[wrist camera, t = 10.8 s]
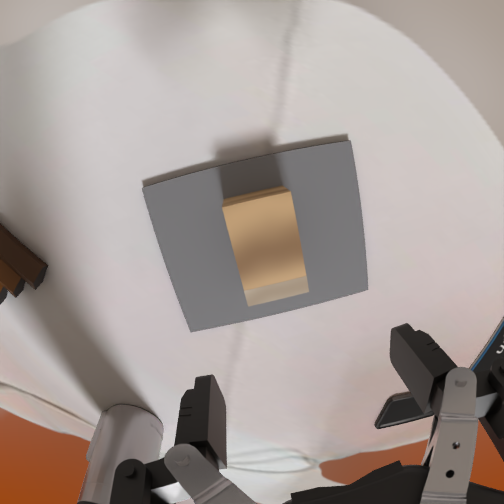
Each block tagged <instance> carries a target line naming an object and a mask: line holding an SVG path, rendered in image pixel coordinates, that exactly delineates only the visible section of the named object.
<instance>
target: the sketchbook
mask: <svg viewBox="0 0 504 504" xmlns="http://www.w3.org/2000/svg"><path fill="white" fill-rule="evenodd" d="M502 357H504V317H503V319H502V321H501V322H500V324H499V326H498V327H497V329H496V330H495V332H494V334H493V335H492V337H491V338H490V340H489V341H488V343H487V344H486V346H485V347H484V349H483V350H482V351H481V353H480V354H479V356H478V357H477V358H476V360H475V361H474V363H473V364H472V365H471V367H470V368H469V369H470V370H472V371H473V372H474V373H476V372H481V371H485V370H489V369H491V366H492V364H493V362H494V361H495V360H496V359H498V358H502Z"/></svg>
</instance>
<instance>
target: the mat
mask: <svg viewBox="0 0 504 504" xmlns="http://www.w3.org/2000/svg"><path fill="white" fill-rule="evenodd" d="M282 185H283V186H284V187H285V188H287V189H288V190H289V191H291V195H292V200H293V205H294V210H295V215H296V220H297V226H298V231H299V236H300V242H301V247H302V253H303V259H304V265H305V270H306V276H307V282H308V288H309V292H307V293H303V294H299V295H295V296H291V297H287V298H283V299H278V300H274V301H270V302H266V303H262V304H257V305H253V306H249V307H248V304H247V300H246V297H245V293H244V289H243V285H242V281H241V278H240V274H239V270H238V267H237V263H236V259H235V255H234V251H233V248H232V244H231V240H230V236H229V233H228V229H227V225H226V221H225V217H224V213H223V209H222V205H223V199H226V198H231V197H235V196H239V195H243V194H247V193H251V192H256V191H260V190H264V189H269V188H273V187H278V186H282ZM142 191H143V194H144V198H145V201H146V205H147V208H148V211H149V215H150V218H151V221H152V225H153V228H154V231H155V234H156V237H157V240H158V244H159V247H160V250H161V253H162V256H163V259H164V262H165V264H166V267H167V270H168V273H169V276H170V279H171V282H172V284H173V287H174V290H175V293H176V295H177V298H178V301H179V303H180V306H181V309H182V311H183V314H184V317H185V319H186V322H187V324H188V327H189V329H190V332H194V331H200V330H205V329H210V328H215V327H220V326H225V325H230V324H234V323H239V322H244V321H248V320H253V319H257V318H262V317H266V316H270V315H275V314H279V313H283V312H287V311H291V310H295V309H299V308H303V307H307V306H311V305H315V304H319V303H323V302H327V301H330V300H334V299H338V298H341V297H345V296H348V295H352V294H356V293H359V292H362V291H366V290H368V276H367V261H366V249H365V238H364V228H363V219H362V210H361V202H360V195H359V187H358V181H357V174H356V168H355V162H354V156H353V150H352V145H351V141H342V142H336V143H329V144H323V145H317V146H311V147H306V148H300V149H295V150H290V151H284V152H279V153H274V154H270V155H265V156H260V157H256V158H251V159H247V160H242V161H238V162H234V163H230V164H225V165H221V166H217V167H213V168H209V169H206V170H202V171H198V172H194V173H191V174H187V175H183V176H180V177H176V178H173V179H169V180H166V181H163V182H159V183H156V184H153V185H149V186H146V187H143V188H142Z"/></svg>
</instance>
